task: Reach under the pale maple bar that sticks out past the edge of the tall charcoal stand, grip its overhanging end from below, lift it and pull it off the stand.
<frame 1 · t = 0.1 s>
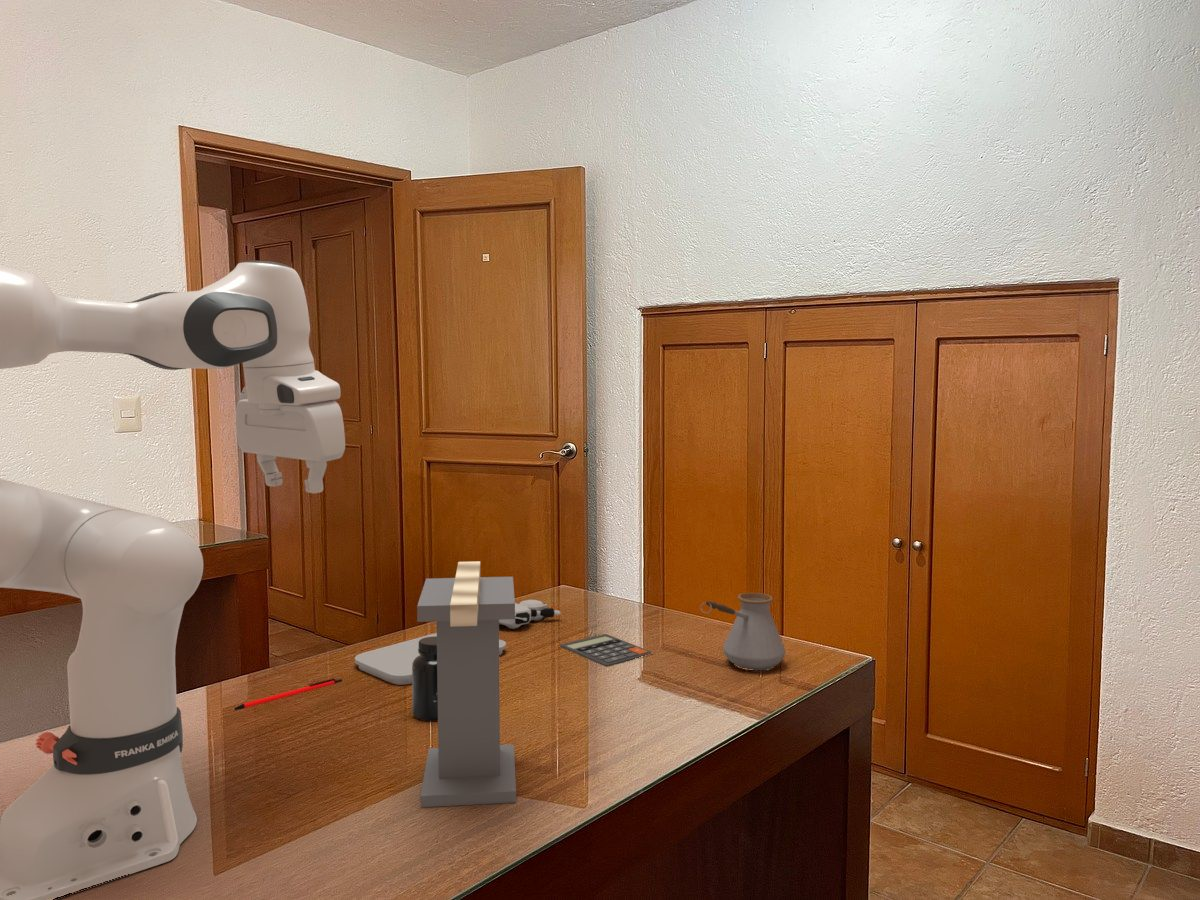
hand: (294, 488, 120), 39 cm above the table, fingers open, 8 cm apart
coffee pot: (738, 672, 163), on the table
maple bar: (466, 600, 113), point 26 cm above the table, touching charcoal stand
charcoal stand: (470, 779, 120), on the table
calculator: (606, 653, 174), on the table
robot toy: (519, 623, 192), on the table
pen: (289, 697, 150), on the table
supplement bottle: (434, 714, 143), on the table
tablet: (432, 662, 168), on the table
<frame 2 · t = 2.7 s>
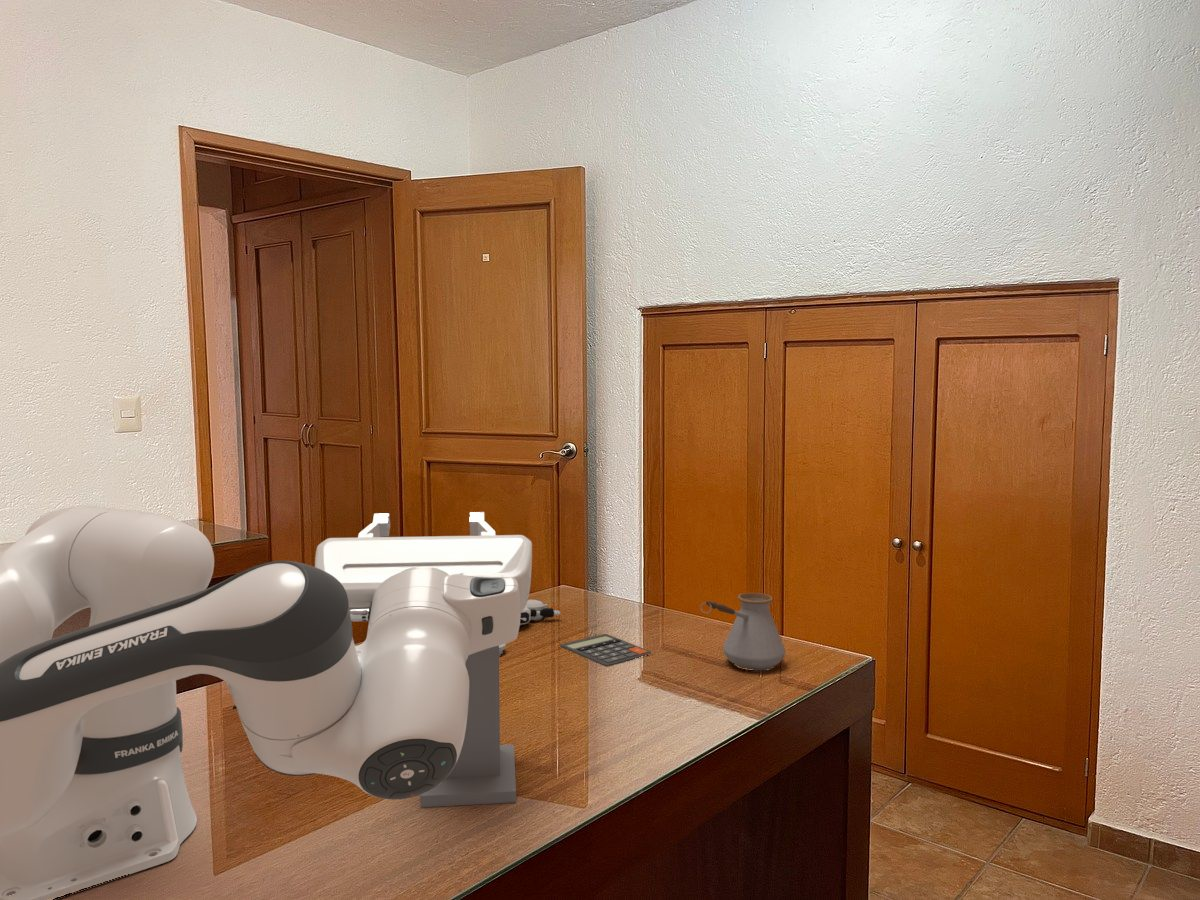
hand: (430, 517, 90), 40 cm above the table, fingers open, 8 cm apart
nothing on the table moved.
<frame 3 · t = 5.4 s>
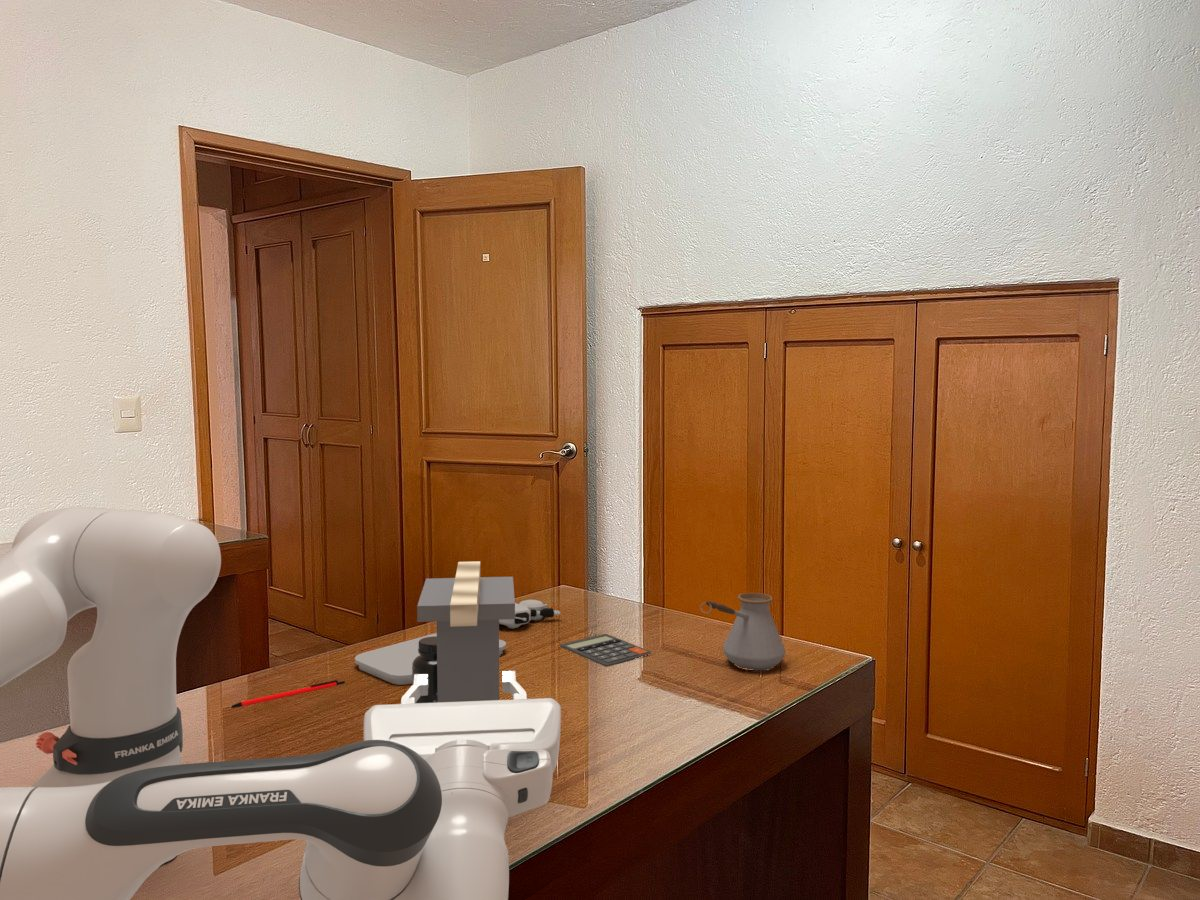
hand: (465, 675, 98), 22 cm above the table, fingers open, 8 cm apart
nothing on the table moved.
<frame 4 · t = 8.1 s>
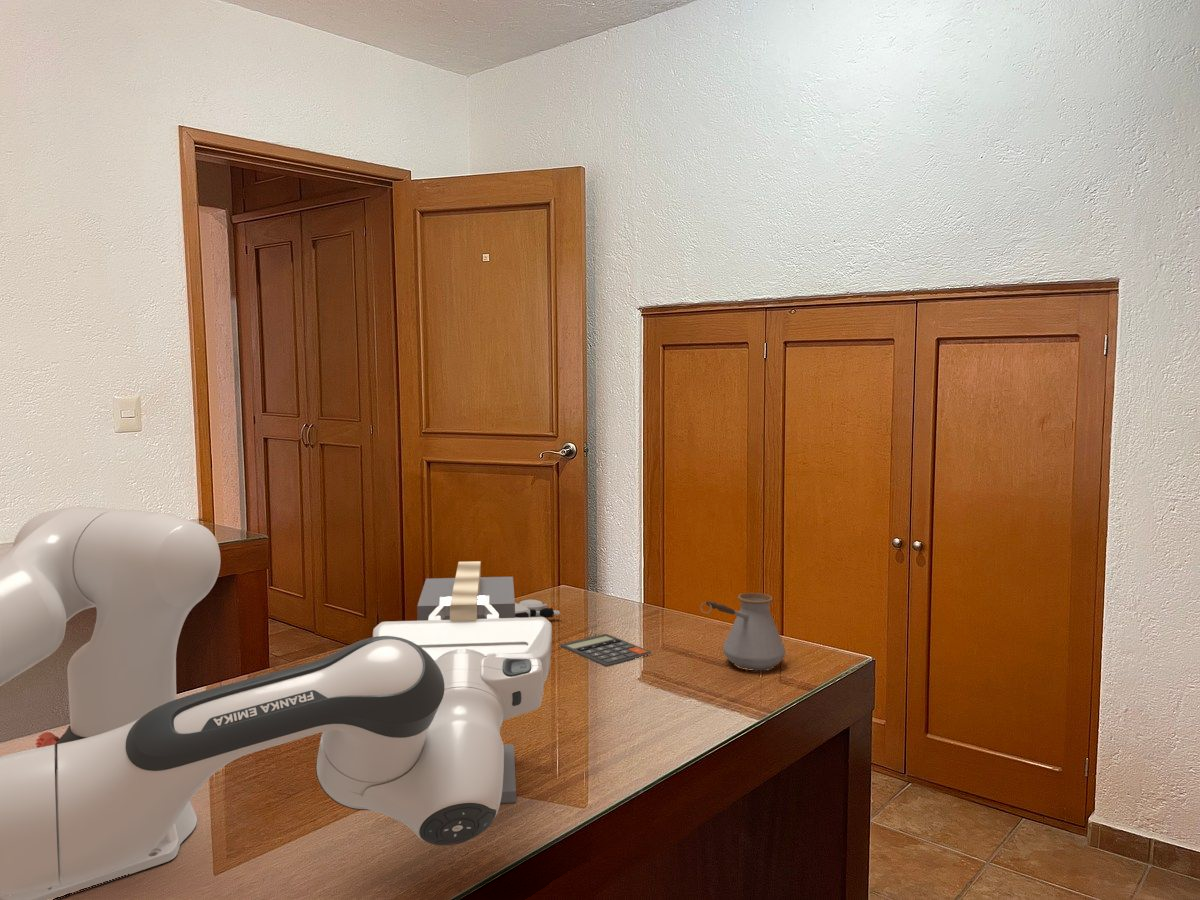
hand: (465, 599, 107), 28 cm above the table, fingers closed on maple bar, 3 cm apart
maple bar: (466, 600, 113), point 26 cm above the table, touching charcoal stand, gripper
everything else where it was.
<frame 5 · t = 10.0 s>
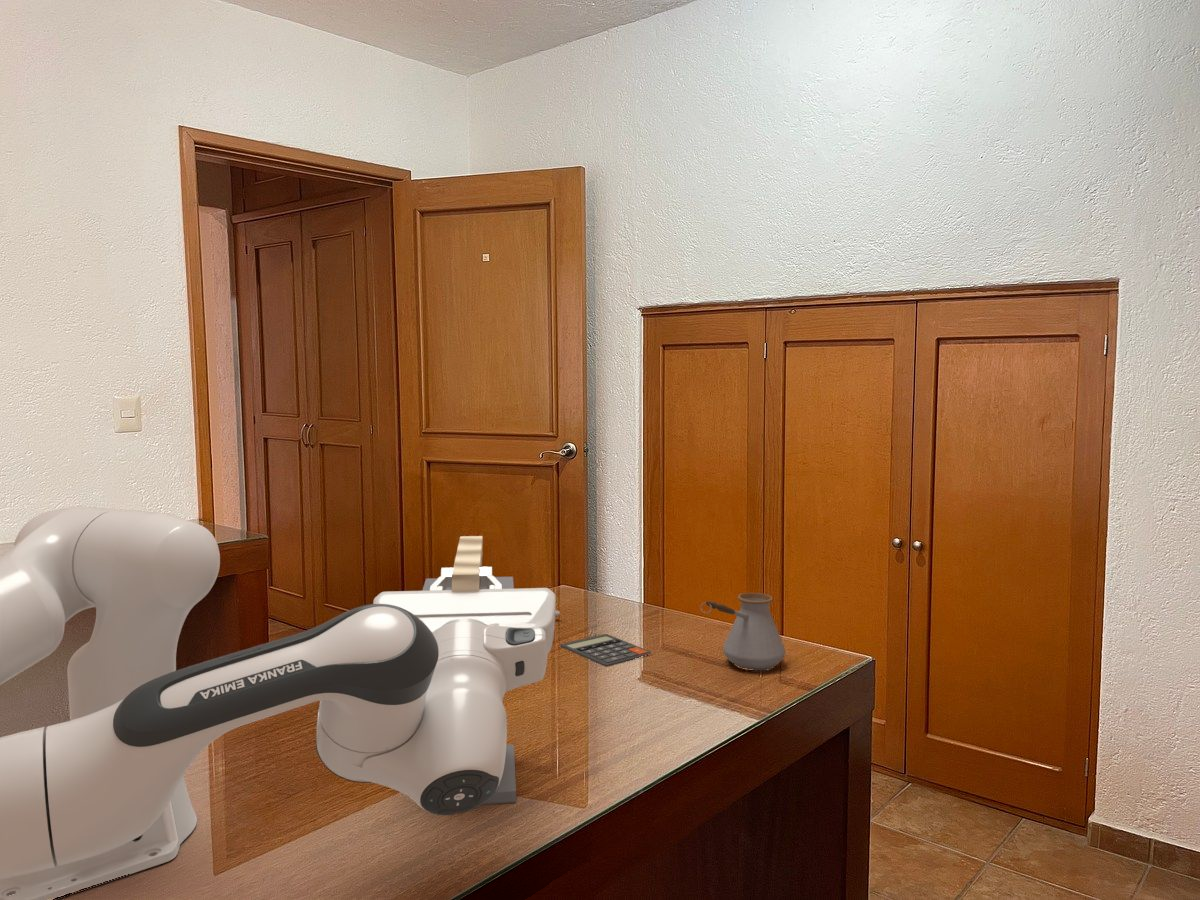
hand: (467, 570, 105), 32 cm above the table, fingers closed on maple bar, 3 cm apart
maple bar: (468, 573, 111), point 30 cm above the table, touching gripper
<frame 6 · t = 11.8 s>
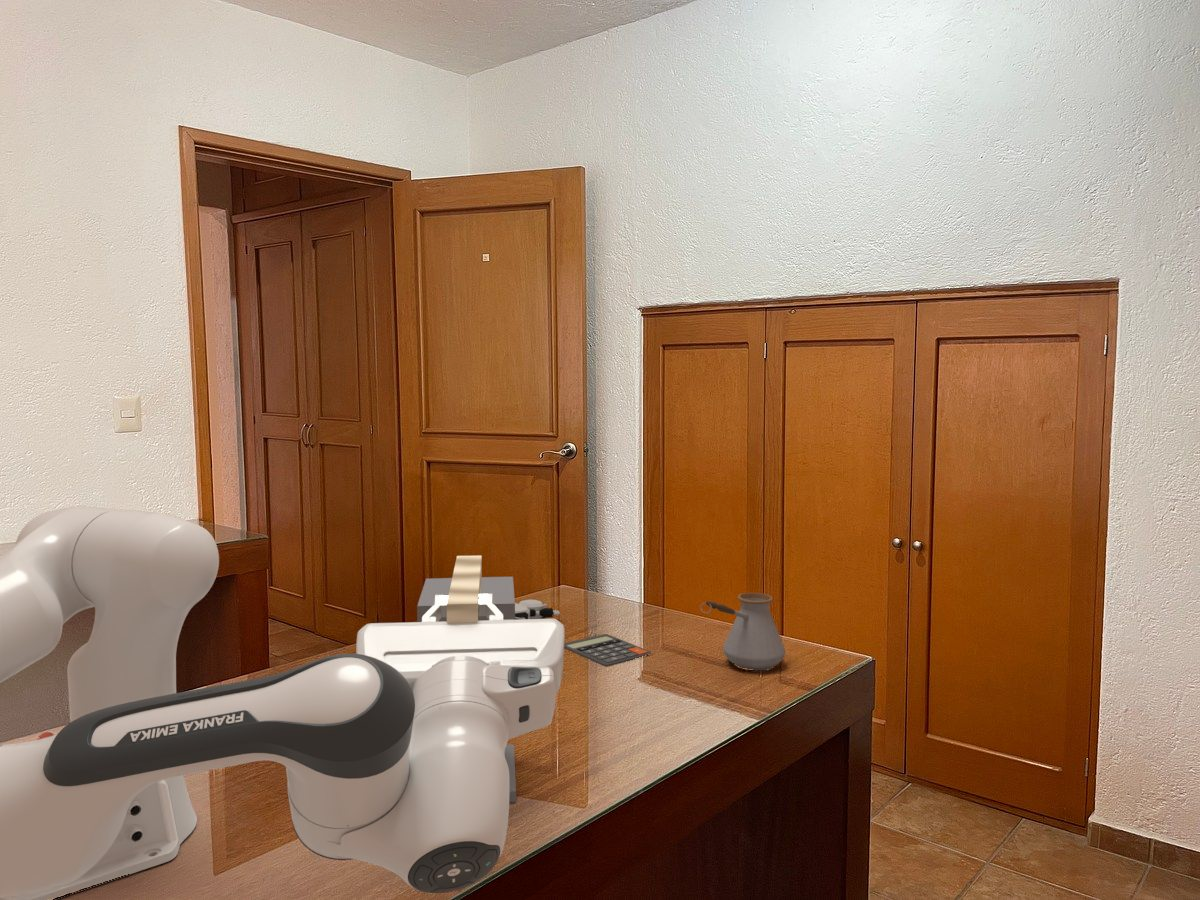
hand: (464, 598, 93), 32 cm above the table, fingers closed on maple bar, 3 cm apart
maple bar: (466, 599, 99), point 30 cm above the table, touching gripper
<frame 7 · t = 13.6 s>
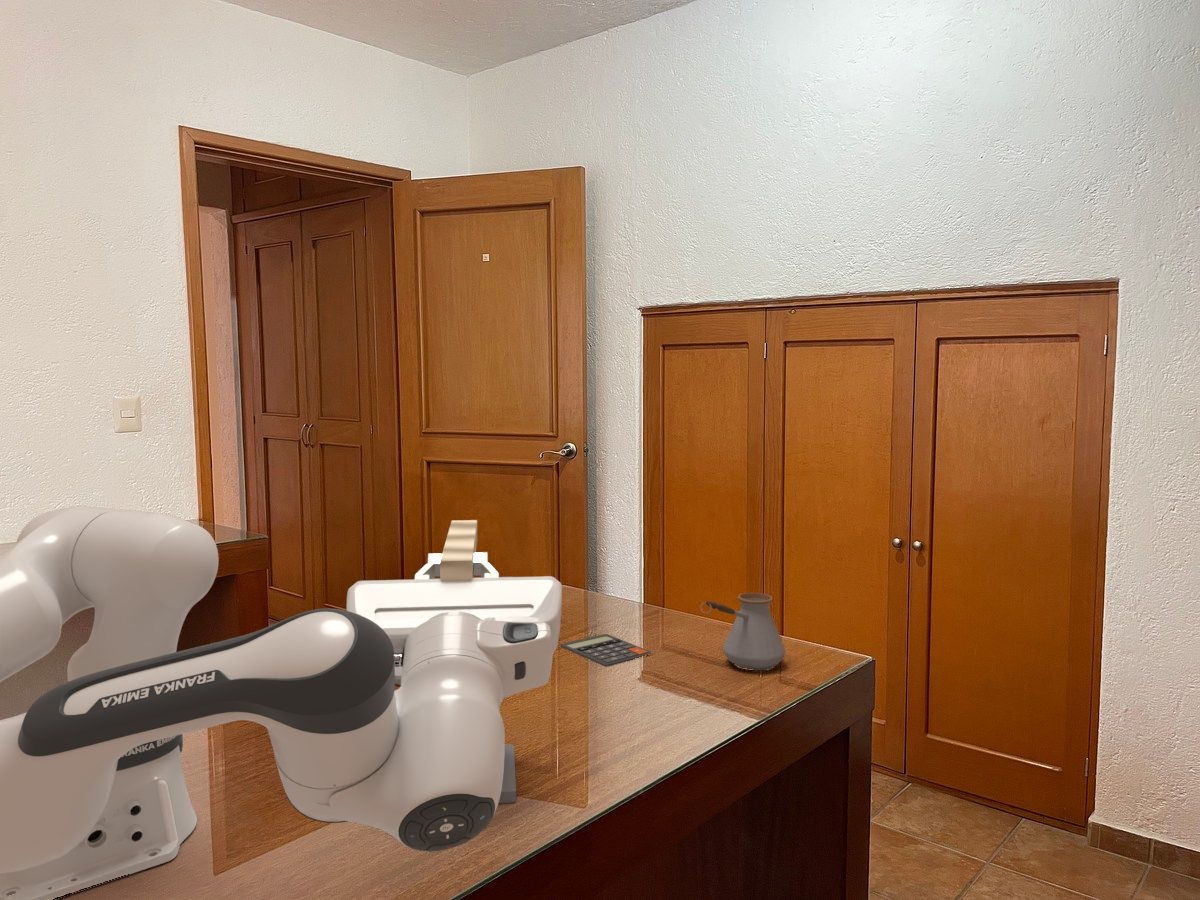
hand: (458, 557, 90), 36 cm above the table, fingers closed on maple bar, 3 cm apart
maple bar: (460, 561, 96), point 35 cm above the table, touching gripper
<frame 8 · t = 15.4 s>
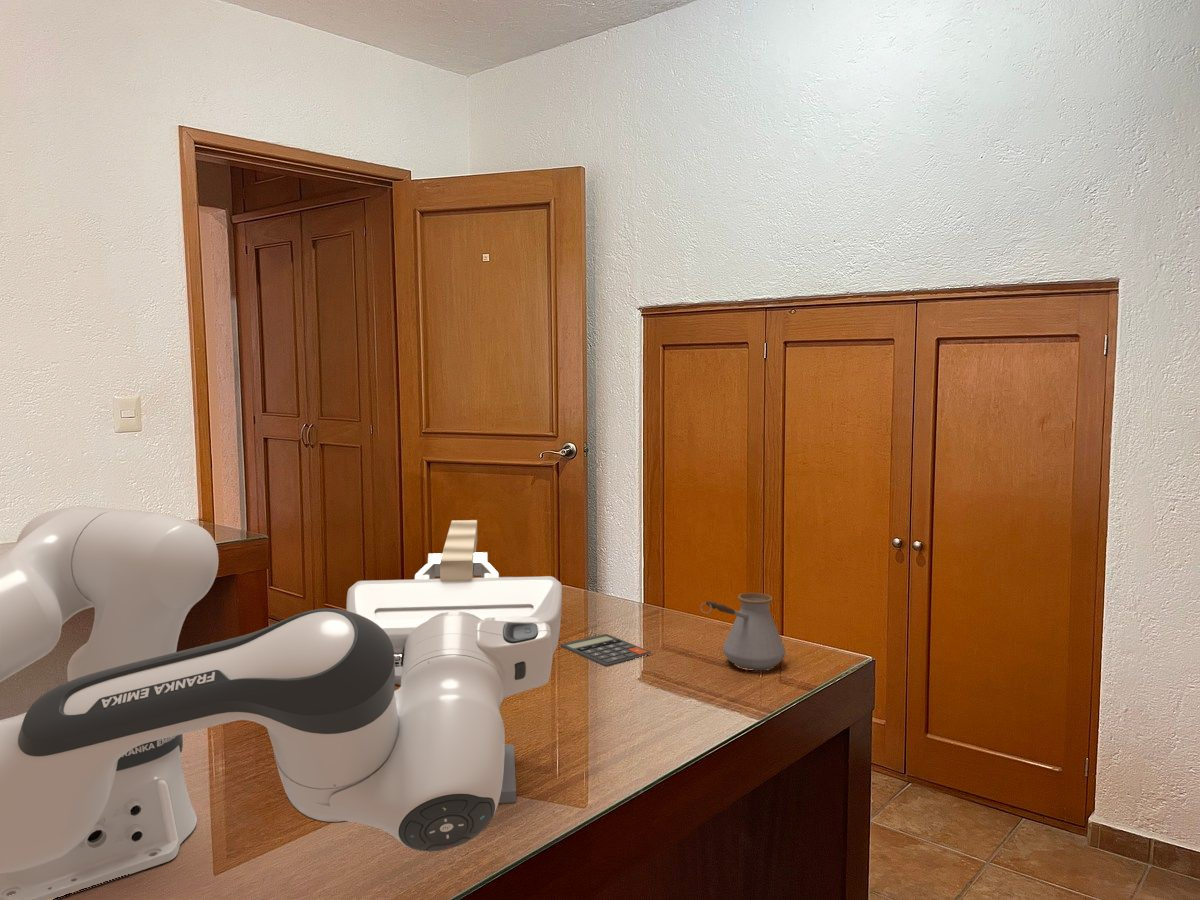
hand: (458, 557, 90), 36 cm above the table, fingers closed on maple bar, 3 cm apart
maple bar: (460, 561, 96), point 35 cm above the table, touching gripper
at the end: the gripper is holding maple bar; maple bar moved 18.2 cm from its start; maple bar touching gripper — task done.
